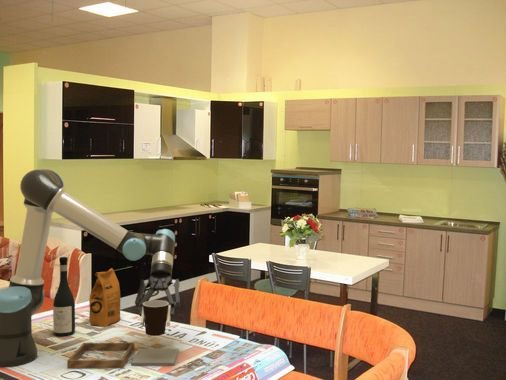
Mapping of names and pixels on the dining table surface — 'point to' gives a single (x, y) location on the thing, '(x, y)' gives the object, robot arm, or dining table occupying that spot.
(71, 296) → the wine bottle
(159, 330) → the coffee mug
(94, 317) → the coffee package
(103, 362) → the walnut collar
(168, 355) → the slate coaster
